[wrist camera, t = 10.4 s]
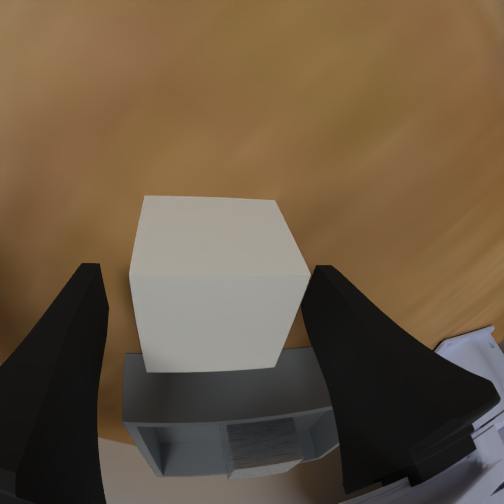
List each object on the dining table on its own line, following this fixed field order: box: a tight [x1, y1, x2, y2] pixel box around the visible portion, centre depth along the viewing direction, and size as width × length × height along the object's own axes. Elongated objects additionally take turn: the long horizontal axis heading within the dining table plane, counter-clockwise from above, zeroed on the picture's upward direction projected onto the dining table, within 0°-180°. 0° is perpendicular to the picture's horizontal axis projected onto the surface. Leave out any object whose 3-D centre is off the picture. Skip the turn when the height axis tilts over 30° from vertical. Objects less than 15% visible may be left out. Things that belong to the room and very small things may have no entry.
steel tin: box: [218, 417, 304, 480], centre depth 19 cm, size 4×4×5 cm
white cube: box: [129, 196, 311, 372], centre depth 10 cm, size 4×4×4 cm
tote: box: [122, 347, 339, 477], centre depth 20 cm, size 16×16×4 cm
